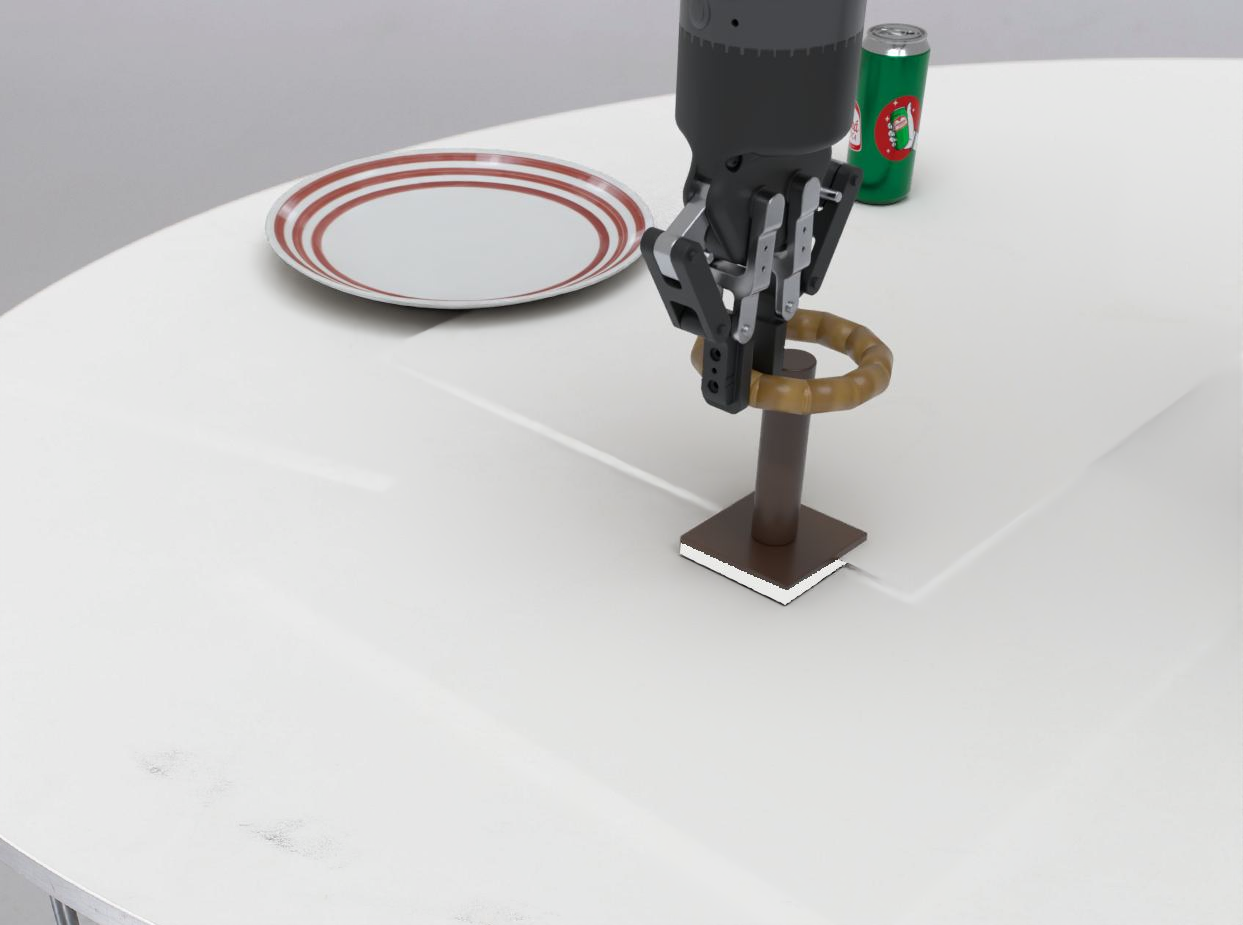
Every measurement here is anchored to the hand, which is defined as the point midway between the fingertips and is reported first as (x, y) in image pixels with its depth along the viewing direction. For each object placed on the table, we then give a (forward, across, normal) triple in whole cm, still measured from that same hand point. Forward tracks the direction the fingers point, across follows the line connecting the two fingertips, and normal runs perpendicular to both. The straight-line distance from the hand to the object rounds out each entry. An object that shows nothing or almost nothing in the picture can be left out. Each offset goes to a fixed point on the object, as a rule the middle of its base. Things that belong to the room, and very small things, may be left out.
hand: (741, 396), depth 77 cm
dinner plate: (+11, +20, +40) cm, 46 cm away
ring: (-1, +4, 0) cm, 4 cm away
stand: (+11, +4, 0) cm, 11 cm away
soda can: (+11, +50, +25) cm, 57 cm away
